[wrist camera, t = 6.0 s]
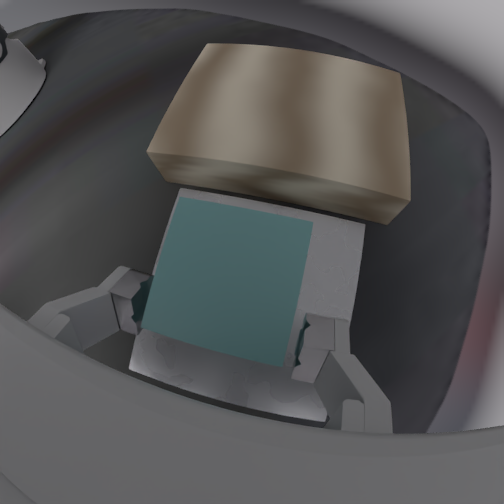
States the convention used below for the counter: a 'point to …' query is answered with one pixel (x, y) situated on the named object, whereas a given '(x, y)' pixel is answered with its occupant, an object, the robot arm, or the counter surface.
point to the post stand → (311, 301)
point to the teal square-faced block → (229, 279)
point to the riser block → (290, 130)
